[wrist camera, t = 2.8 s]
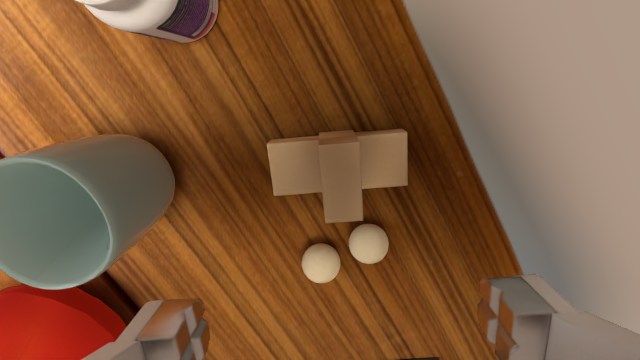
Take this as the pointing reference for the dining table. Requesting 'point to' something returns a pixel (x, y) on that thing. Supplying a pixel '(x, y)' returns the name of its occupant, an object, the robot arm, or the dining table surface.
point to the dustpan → (425, 359)
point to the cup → (79, 207)
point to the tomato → (54, 324)
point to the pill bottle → (158, 17)
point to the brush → (339, 167)
